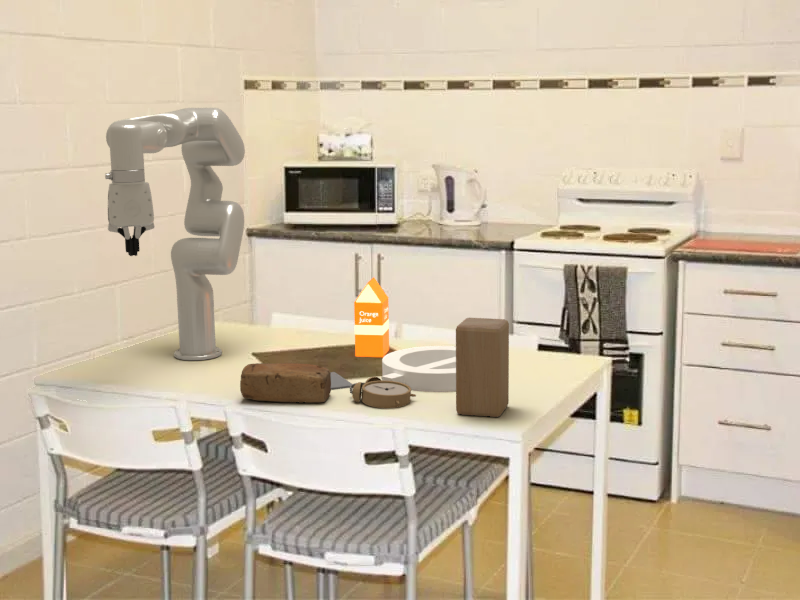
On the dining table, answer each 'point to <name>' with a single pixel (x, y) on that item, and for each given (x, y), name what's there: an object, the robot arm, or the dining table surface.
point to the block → (286, 382)
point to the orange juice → (371, 321)
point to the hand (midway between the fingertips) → (132, 255)
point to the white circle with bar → (422, 368)
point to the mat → (338, 381)
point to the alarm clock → (381, 393)
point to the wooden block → (482, 367)
